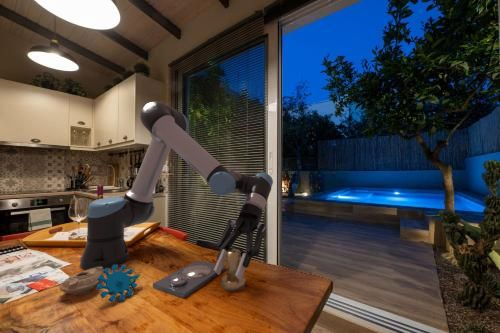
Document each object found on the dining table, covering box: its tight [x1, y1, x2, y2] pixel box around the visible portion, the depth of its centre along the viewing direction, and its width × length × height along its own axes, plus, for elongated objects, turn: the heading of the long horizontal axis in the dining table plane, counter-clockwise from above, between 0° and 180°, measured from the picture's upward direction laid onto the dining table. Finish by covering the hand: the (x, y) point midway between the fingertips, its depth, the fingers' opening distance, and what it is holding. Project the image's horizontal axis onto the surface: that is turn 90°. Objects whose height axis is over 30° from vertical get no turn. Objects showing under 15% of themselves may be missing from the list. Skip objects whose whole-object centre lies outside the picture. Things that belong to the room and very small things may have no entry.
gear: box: [96, 264, 141, 303], centre depth 60 cm, size 11×6×10 cm
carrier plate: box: [152, 259, 227, 299], centre depth 69 cm, size 12×20×2 cm, turn 153°
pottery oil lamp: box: [59, 267, 104, 296], centre depth 63 cm, size 9×12×7 cm
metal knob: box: [221, 248, 246, 293], centre depth 65 cm, size 7×7×10 cm
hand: (227, 274), depth 62 cm, fingers open, 6 cm apart
